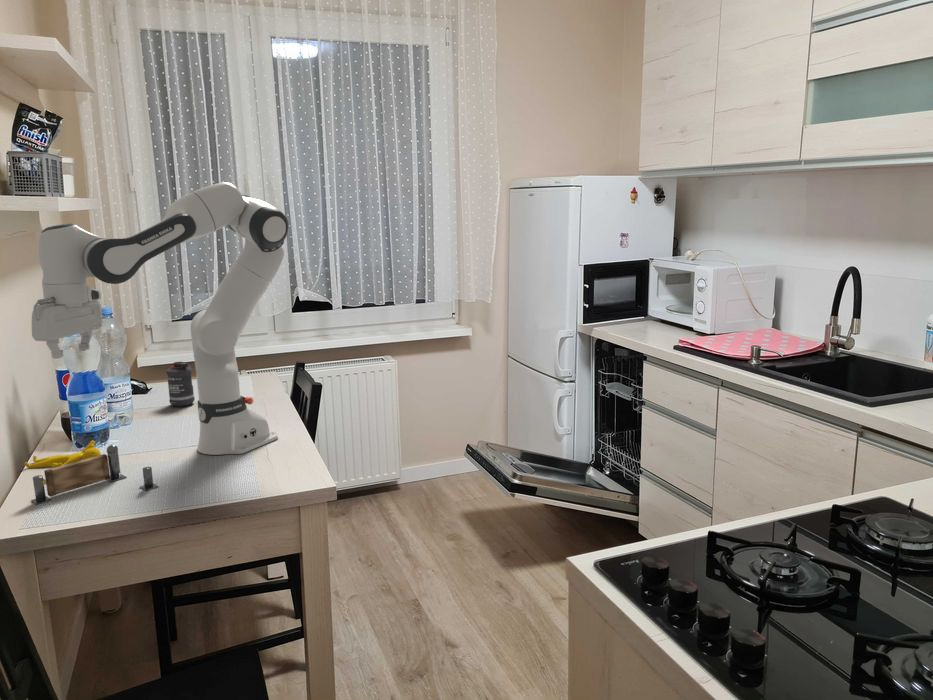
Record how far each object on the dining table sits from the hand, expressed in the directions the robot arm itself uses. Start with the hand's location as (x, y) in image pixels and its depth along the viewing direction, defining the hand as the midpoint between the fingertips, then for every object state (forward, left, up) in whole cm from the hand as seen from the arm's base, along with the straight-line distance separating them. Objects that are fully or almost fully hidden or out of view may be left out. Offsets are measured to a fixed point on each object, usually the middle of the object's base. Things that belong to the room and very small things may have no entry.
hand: (71, 354), depth 163 cm
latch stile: (+10, -2, -34) cm, 35 cm away
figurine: (-3, -23, -34) cm, 41 cm away
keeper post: (-10, +11, -34) cm, 37 cm away
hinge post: (-7, -2, -34) cm, 35 cm away
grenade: (-52, -51, -34) cm, 80 cm away
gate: (+1, -2, -33) cm, 33 cm away
